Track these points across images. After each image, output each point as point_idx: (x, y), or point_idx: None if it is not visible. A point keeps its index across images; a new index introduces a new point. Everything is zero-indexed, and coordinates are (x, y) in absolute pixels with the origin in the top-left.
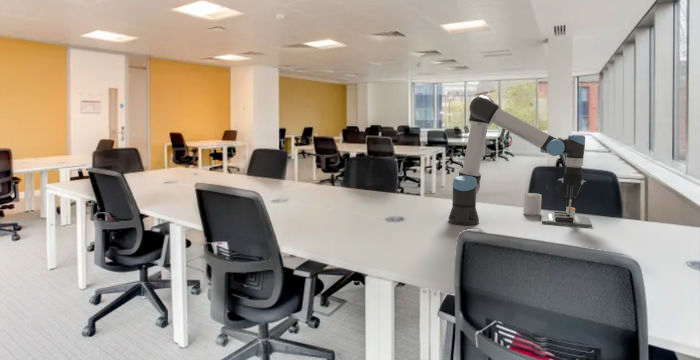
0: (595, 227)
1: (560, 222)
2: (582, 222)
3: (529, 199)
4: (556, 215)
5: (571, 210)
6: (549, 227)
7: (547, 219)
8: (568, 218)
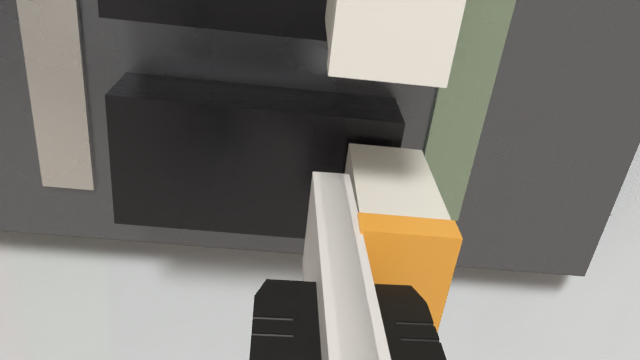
0: (620, 222)
1: (204, 242)
2: (505, 186)
3: None
4: (127, 99)
5: None
6: (88, 346)
7: (14, 127)
8: None
